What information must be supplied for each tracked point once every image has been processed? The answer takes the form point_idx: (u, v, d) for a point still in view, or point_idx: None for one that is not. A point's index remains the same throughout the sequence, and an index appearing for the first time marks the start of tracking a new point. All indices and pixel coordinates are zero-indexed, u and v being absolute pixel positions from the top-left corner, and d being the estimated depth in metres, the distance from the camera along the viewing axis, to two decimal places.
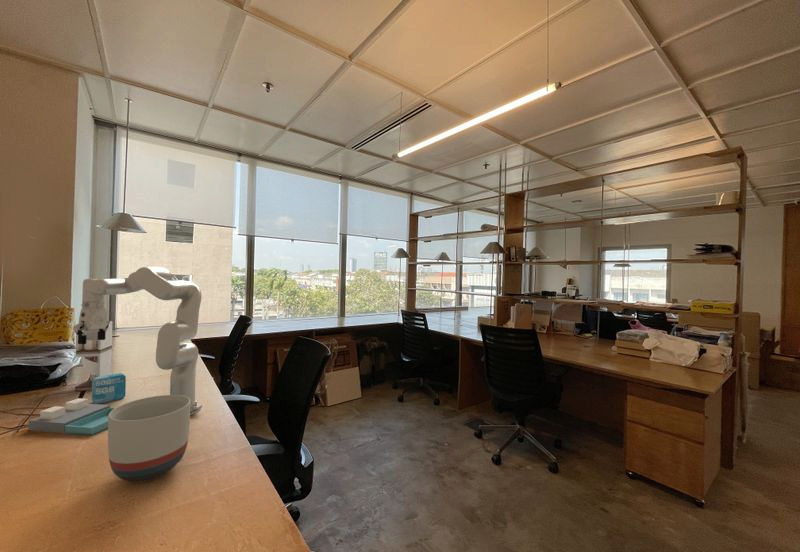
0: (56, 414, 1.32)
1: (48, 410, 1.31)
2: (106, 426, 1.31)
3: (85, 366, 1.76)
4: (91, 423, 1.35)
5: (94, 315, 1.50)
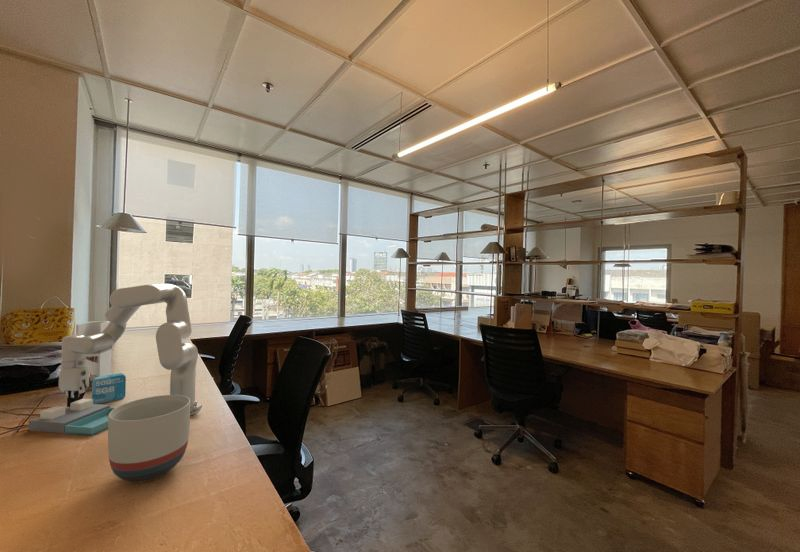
0: (56, 414, 1.32)
1: (48, 410, 1.31)
2: (106, 426, 1.31)
3: None
4: (91, 423, 1.35)
5: None
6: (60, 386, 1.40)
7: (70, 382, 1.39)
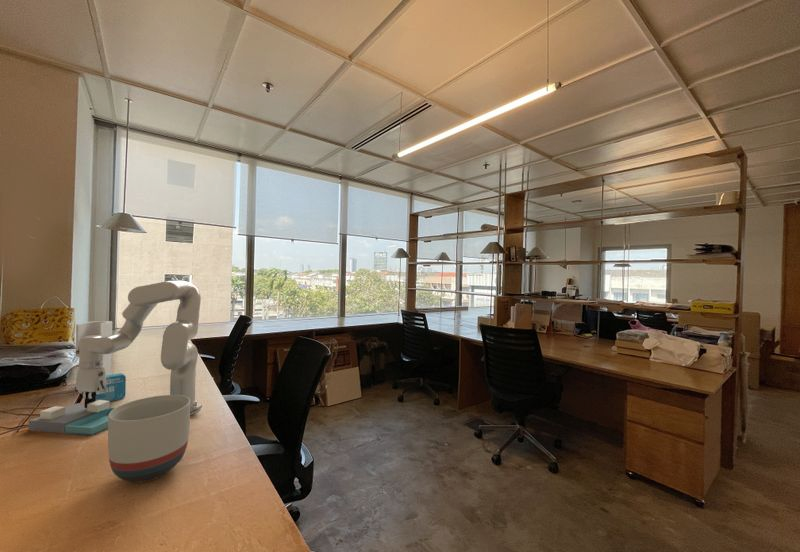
0: (56, 414, 1.32)
1: (48, 410, 1.31)
2: (106, 426, 1.31)
3: None
4: (91, 423, 1.35)
5: None
6: (77, 387, 1.39)
7: (87, 383, 1.39)
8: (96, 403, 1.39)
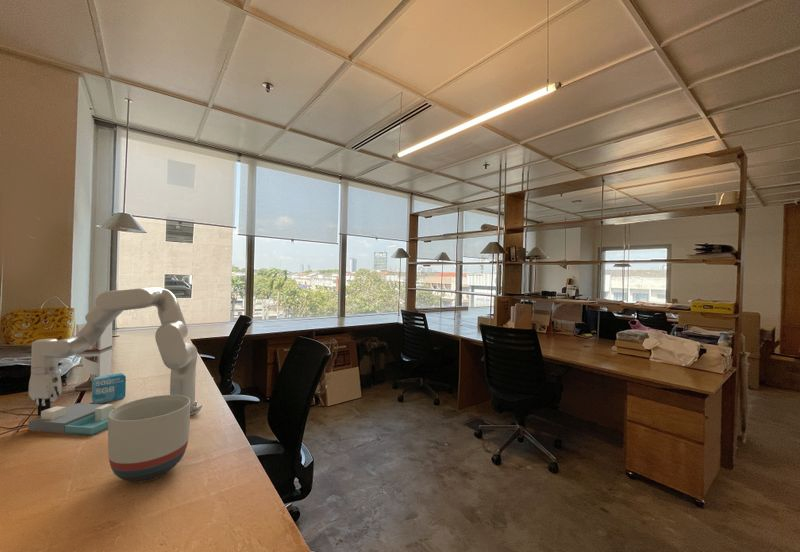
0: (57, 414, 1.32)
1: (49, 410, 1.31)
2: (106, 426, 1.31)
3: (85, 366, 1.76)
4: (91, 423, 1.35)
5: None
6: (30, 393, 1.32)
7: (40, 390, 1.31)
8: (105, 413, 1.39)
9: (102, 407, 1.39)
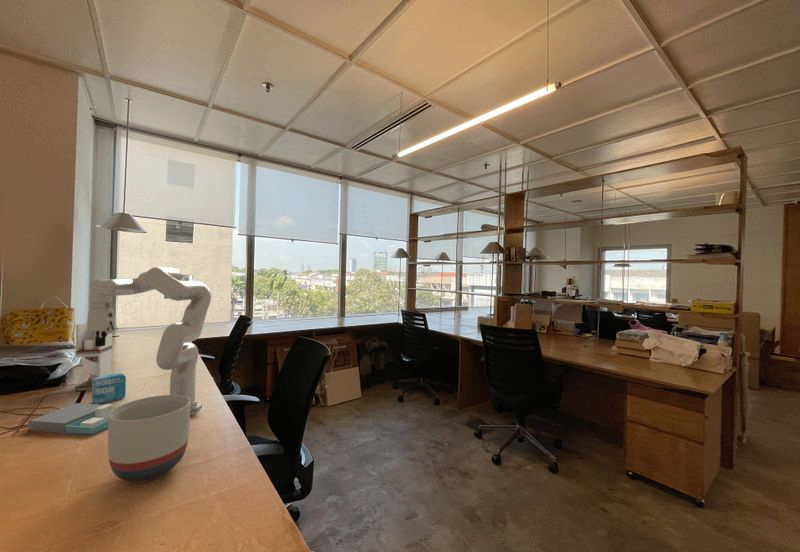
0: None
1: None
2: (106, 426, 1.31)
3: (85, 366, 1.76)
4: None
5: None
6: (88, 327, 1.48)
7: (98, 323, 1.48)
8: (105, 413, 1.39)
9: (102, 407, 1.39)
